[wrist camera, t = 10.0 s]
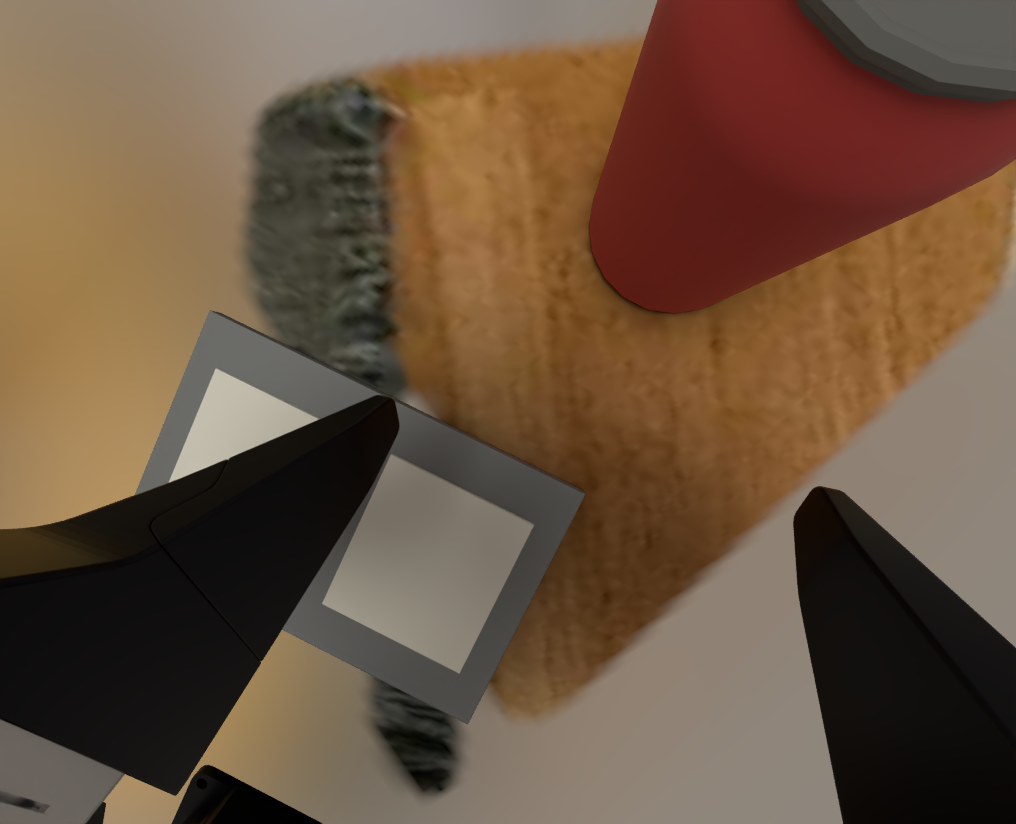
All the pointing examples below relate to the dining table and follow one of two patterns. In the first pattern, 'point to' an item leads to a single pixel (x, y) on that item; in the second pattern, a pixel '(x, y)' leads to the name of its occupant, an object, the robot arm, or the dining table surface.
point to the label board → (384, 519)
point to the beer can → (794, 135)
